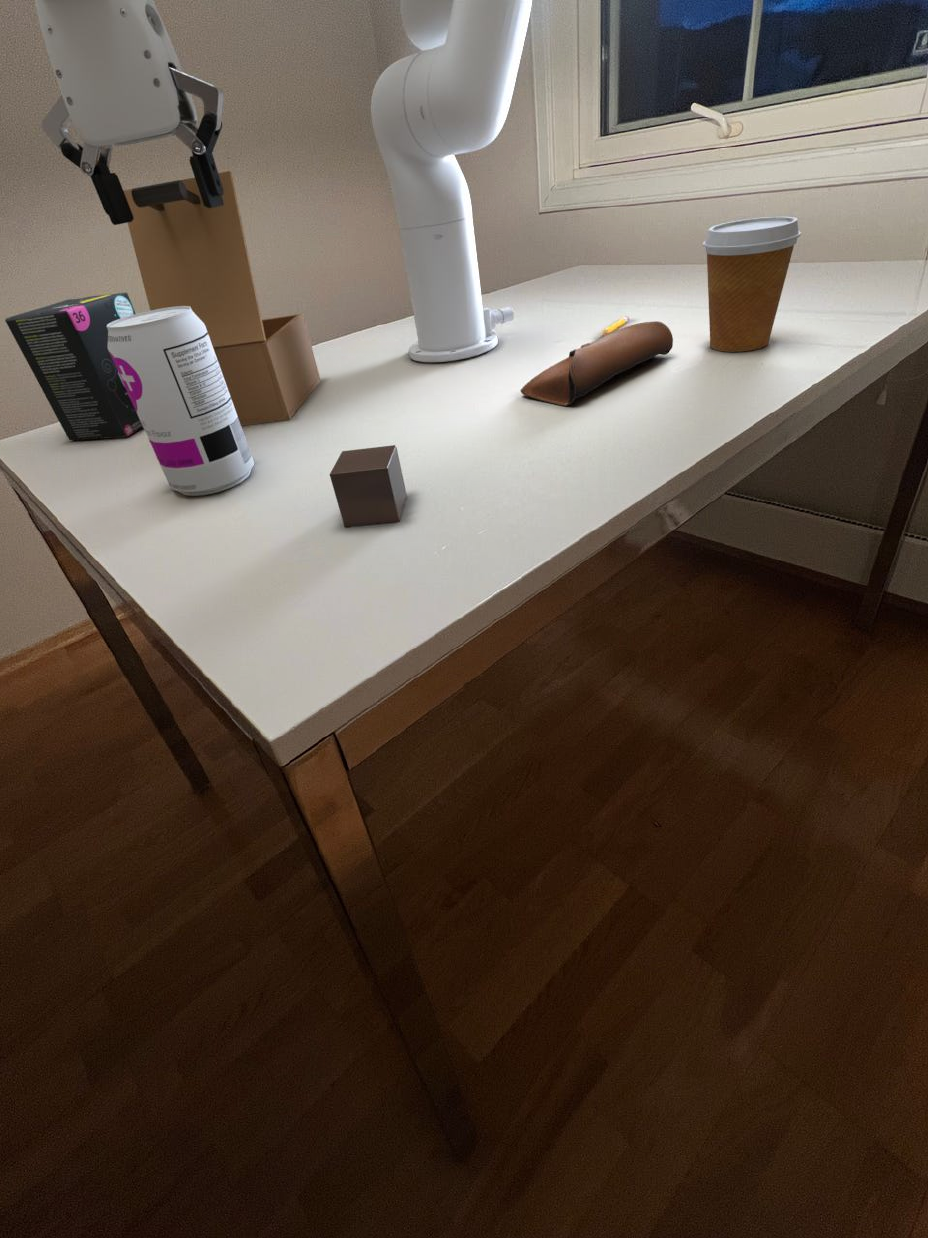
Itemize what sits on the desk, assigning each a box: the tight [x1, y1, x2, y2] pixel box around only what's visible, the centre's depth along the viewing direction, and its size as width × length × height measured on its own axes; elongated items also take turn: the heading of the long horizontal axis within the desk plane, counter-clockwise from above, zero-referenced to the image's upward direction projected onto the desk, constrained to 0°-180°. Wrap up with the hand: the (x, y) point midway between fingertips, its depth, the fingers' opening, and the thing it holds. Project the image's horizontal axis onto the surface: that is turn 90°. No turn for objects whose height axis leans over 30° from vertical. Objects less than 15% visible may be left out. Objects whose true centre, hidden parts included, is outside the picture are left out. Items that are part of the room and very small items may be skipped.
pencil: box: [600, 316, 630, 337], centre depth 86 cm, size 1×9×1 cm, turn 145°
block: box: [329, 444, 408, 528], centre depth 50 cm, size 4×4×4 cm
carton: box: [213, 313, 322, 427], centre depth 79 cm, size 15×12×9 cm
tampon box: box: [4, 292, 143, 441], centre depth 79 cm, size 11×9×15 cm
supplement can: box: [107, 306, 255, 497], centre depth 58 cm, size 8×8×15 cm
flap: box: [123, 170, 266, 348], centre depth 65 cm, size 16×12×5 cm
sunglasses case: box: [519, 320, 674, 407], centre depth 70 cm, size 18×7×7 cm, turn 134°
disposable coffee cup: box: [702, 216, 802, 353], centre depth 70 cm, size 10×10×12 cm
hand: (169, 214), depth 61 cm, fingers open, 9 cm apart
